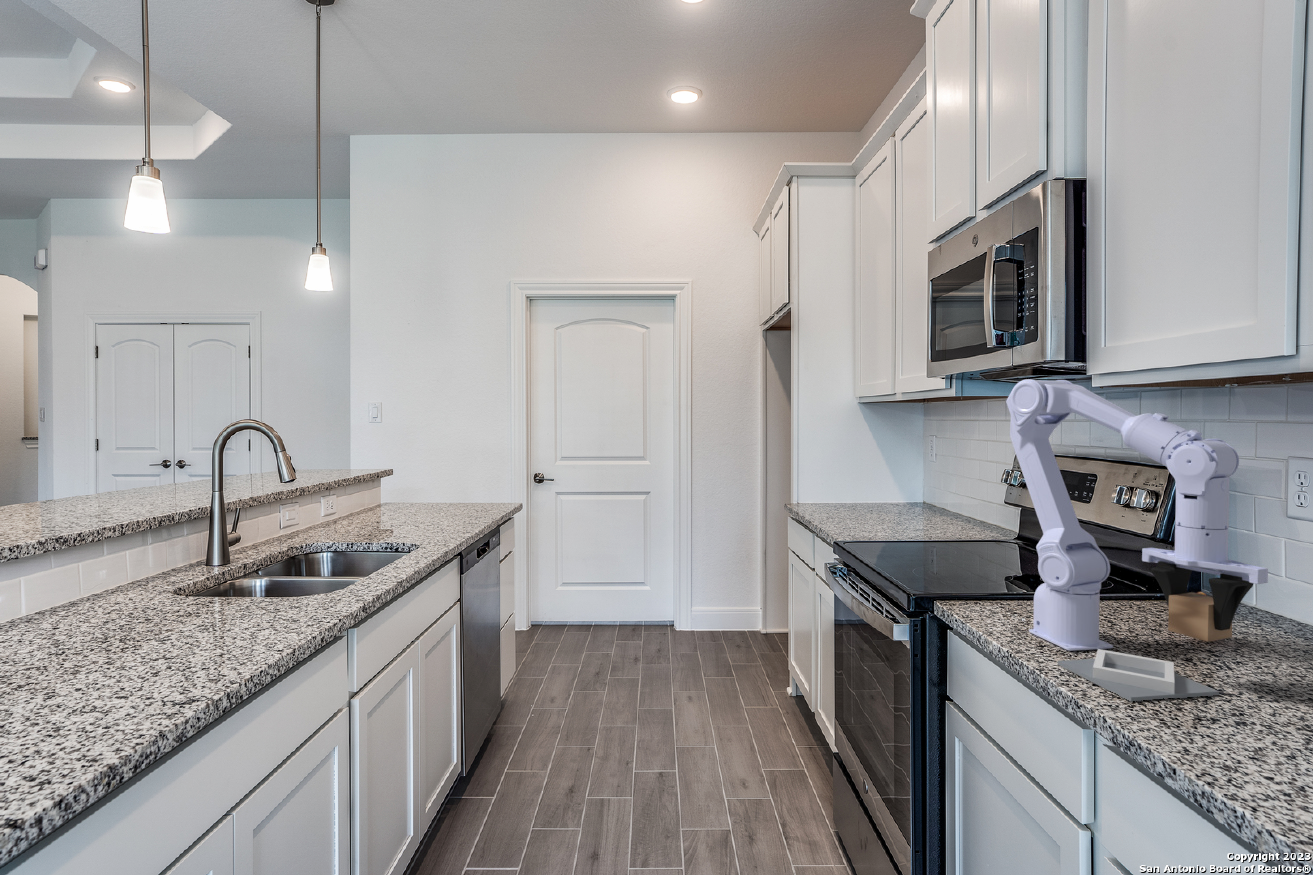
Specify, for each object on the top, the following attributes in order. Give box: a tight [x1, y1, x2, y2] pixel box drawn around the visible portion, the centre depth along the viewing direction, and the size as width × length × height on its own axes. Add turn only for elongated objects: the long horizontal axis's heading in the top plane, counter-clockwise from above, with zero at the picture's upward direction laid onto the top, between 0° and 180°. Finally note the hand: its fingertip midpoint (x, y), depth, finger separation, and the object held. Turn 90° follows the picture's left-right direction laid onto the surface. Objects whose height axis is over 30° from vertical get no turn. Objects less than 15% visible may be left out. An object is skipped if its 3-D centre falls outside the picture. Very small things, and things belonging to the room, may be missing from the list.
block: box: [1167, 591, 1233, 643], centre depth 91 cm, size 5×5×5 cm
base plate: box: [1057, 649, 1220, 703], centre depth 93 cm, size 13×13×2 cm
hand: (1199, 622), depth 91 cm, fingers closed on block, 5 cm apart
